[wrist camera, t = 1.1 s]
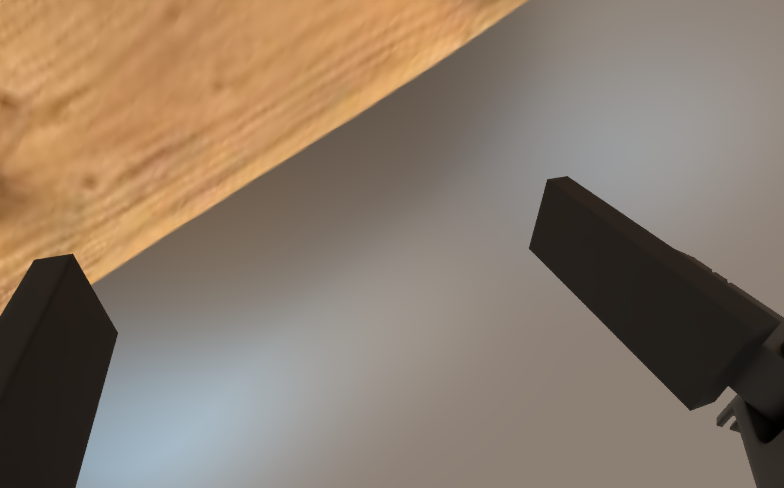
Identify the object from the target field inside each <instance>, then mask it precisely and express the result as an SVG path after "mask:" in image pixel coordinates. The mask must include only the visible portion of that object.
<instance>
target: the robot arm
mask: <svg viewBox="0 0 784 488" xmlns="http://www.w3.org/2000/svg"><path fill="white" fill-rule="evenodd" d="M529 249H530V250H531V251H532V252H533V253H534V254H535V255H536V256H537V257H538V258H539V259H540V260H541V261H542V262H543V263H544V264H545V265H546V266H547V267H548V268H549V269H550V270H551V271H552V272H553V273H554V274H555V275H556V276H557V277H558V278H559V279H560V280H561V281H562V282H563V283H564V284H565V285H566V286H567V287H568V288H569V289H570V290H571V291H572V292H573V293H574V294H575V295H576V296H577V297H578V298H579V299H580V300H581V301H582V302H583V303H584V304H585V305H586V306H587V307H588V308H589V309H590V310H591V311H592V312H593V313H594V314H595V315H596V316H597V317H598V318H599V319H600V320H601V321H602V322H603V323H604V324H605V325H606V326H607V327H608V328H609V329H610V330H611V331H612V332H613V333H614V334H615V335H616V336H617V338H619V340H620V341H622V342H623V344H624V345H626V347H627V348H628V349H629V350H630V351H631V352H633V354H634V355H635V356H637V358H638V359H639V360H640V361H641V362H643V364H644V365H645V366H646V367H647V368H648V369H649V370H650V371H651V372H652V373H653V374H654V375H655V376H656V377H657V378H658V379H659V380H660V381H661V382H662V383H664V385H665V386H666V387H667V388H668V389H669V390H670V391H671V392H672V393H673V394H674V395H675V396H676V397H677V398H678V399H679V400H680V401H681V402H682V403H683V404H684V405H685V406H686V407H687V408H688V409H689V410H690V411H691V410H694V409H696V408H699V407H702V406H704V405H707V404H710V403H712V402H715V401H716V400H717V398H718V397H719V396H720V395H721V393H722V392H723V391H724V390H725V389H726V388H727V386H729V387H731V389H733V390H734V391H735V392H736V393H737V395H736V396H735V398H734V399H733V400H732V401H731V402H730V403H729V404H728V405H727V407H726V408H725V409H724V410H723V411H722V412H721V414H720V415H719V416H718V417H717V426H721V427H723V425H724V424H725V423H726V422H727V421H728V420H729V419H730V418H731V417H732V416H735V417H736V420H735V421H734V422H733V423H732V425H731V426H730V430H733V431H737V432H740V433H741V437H742V440H743V443H744V447H745V450H746V453H747V457H748V460H749V463H750V467H751V470H752V473H753V476H754V480H755V483H756V486H757V488H784V318H783V317H782V316H780V315H779V314H777V313H776V312H774V311H773V310H771V309H770V308H768V307H767V306H765V305H764V304H762V303H761V302H759V301H758V300H756V299H755V298H753V297H752V296H750V295H749V294H747V293H746V292H745V291H743V290H742V289H740V288H739V287H737V286H736V285H734V284H732V283H728V282H727V279H725V278H723V277H722V276H720V275H719V274H718V273H716V272H714V273H713V272H712V269H710V268H709V267H707V266H706V265H704V264H703V263H701V262H700V261H698V260H697V259H695V258H694V257H691V256H689V255H687V254H685V253H683V252H680V251H678V250H676V249H674V248H672V247H671V246H669V245H668V244H666V243H665V242H663V241H662V240H660V239H659V238H657V237H656V236H654V235H653V234H651V233H650V232H649V231H647V230H646V229H644V228H643V227H641V226H640V225H638V224H637V223H635V222H634V221H632V220H631V219H629V218H628V217H626V216H625V215H624V214H622V213H621V212H619V211H618V210H616V209H615V208H613V207H612V206H610V205H609V204H607V203H606V202H605V201H603V200H601V199H600V198H598V197H597V196H596V195H594V194H592V193H591V192H590V191H588V190H587V189H585V188H584V187H582V186H581V185H579V184H578V183H577V182H575V181H574V180H572V179H571V178H569V177H568V176H566V177H560V178H553V179H548V180H547V183H546V186H545V190H544V194H543V198H542V202H541V205H540V209H539V213H538V216H537V220H536V224H535V228H534V231H533V235H532V239H531V243H530V246H529ZM117 334H118V332H117V330H116V329H115V327H114V325H113V324H112V322H111V320H110V318H109V317H108V315H107V313H106V311H105V310H104V308H103V306H102V304H101V303H100V301H99V299H98V297H97V295H96V294H95V292H94V290H93V289H92V287H91V285H90V283H89V281H88V280H87V278H86V276H85V274H84V273H83V271H82V269H81V267H80V266H79V264H78V262H77V260H76V259H75V257H74V255H73V254H68V255H62V256H55V257H49V258H43V259H36V260H34V261H33V263H32V265H31V266H30V268H29V270H28V271H27V273H26V274H25V276H24V278H23V279H22V281H21V283H20V284H19V286H18V288H17V289H16V291H15V293H14V294H13V296H12V298H11V299H10V301H9V303H8V304H7V306H6V308H5V309H4V311H3V313H2V314H1V316H0V488H75V487H76V483H77V480H78V476H79V472H80V469H81V465H82V461H83V458H84V454H85V451H86V447H87V443H88V440H89V436H90V433H91V429H92V425H93V422H94V418H95V414H96V411H97V407H98V403H99V400H100V396H101V393H102V389H103V386H104V382H105V378H106V375H107V371H108V367H109V364H110V360H111V356H112V353H113V349H114V345H115V342H116V338H117Z"/></svg>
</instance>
